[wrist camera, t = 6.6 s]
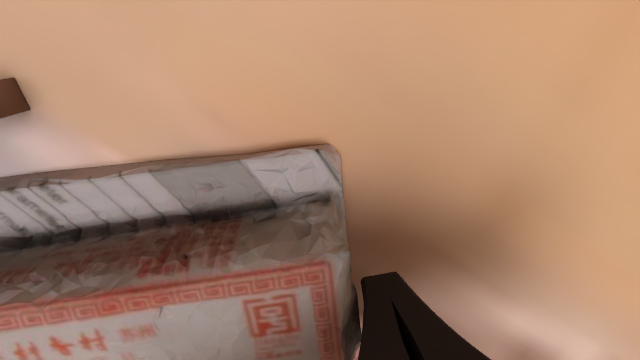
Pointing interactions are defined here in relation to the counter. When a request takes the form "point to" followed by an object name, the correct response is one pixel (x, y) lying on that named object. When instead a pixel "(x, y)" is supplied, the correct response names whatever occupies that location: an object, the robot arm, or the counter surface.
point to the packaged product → (179, 260)
